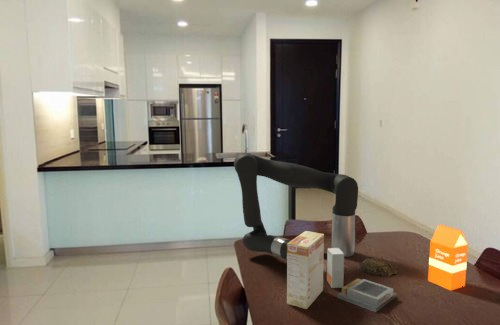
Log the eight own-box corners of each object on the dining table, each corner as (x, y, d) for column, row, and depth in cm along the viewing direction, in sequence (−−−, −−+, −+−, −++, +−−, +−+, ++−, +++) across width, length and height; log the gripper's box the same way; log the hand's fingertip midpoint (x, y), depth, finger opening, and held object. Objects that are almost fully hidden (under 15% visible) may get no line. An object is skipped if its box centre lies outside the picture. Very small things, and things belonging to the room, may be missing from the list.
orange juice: (450, 290, 126) (454, 232, 124) (427, 280, 134) (430, 225, 131) (465, 285, 130) (469, 229, 127) (442, 276, 137) (445, 222, 135)
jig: (359, 284, 131) (359, 275, 131) (396, 296, 122) (396, 287, 121) (337, 297, 121) (337, 288, 121) (375, 312, 112) (376, 302, 112)
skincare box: (326, 280, 134) (327, 247, 132) (338, 280, 134) (339, 247, 133) (331, 288, 128) (332, 254, 126) (343, 287, 128) (344, 253, 127)
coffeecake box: (304, 285, 130) (305, 230, 128) (324, 290, 126) (325, 233, 124) (285, 304, 117) (286, 243, 115) (307, 309, 114) (308, 247, 111)
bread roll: (355, 271, 143) (355, 258, 142) (370, 261, 152) (370, 249, 151) (388, 280, 134) (389, 267, 134) (402, 270, 143) (402, 257, 143)
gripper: (273, 243, 140) (309, 255, 129) (297, 235, 150) (332, 245, 139) (273, 263, 141) (308, 276, 130) (297, 253, 151) (332, 264, 140)
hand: (321, 260), depth 134 cm, fingers open, 8 cm apart
